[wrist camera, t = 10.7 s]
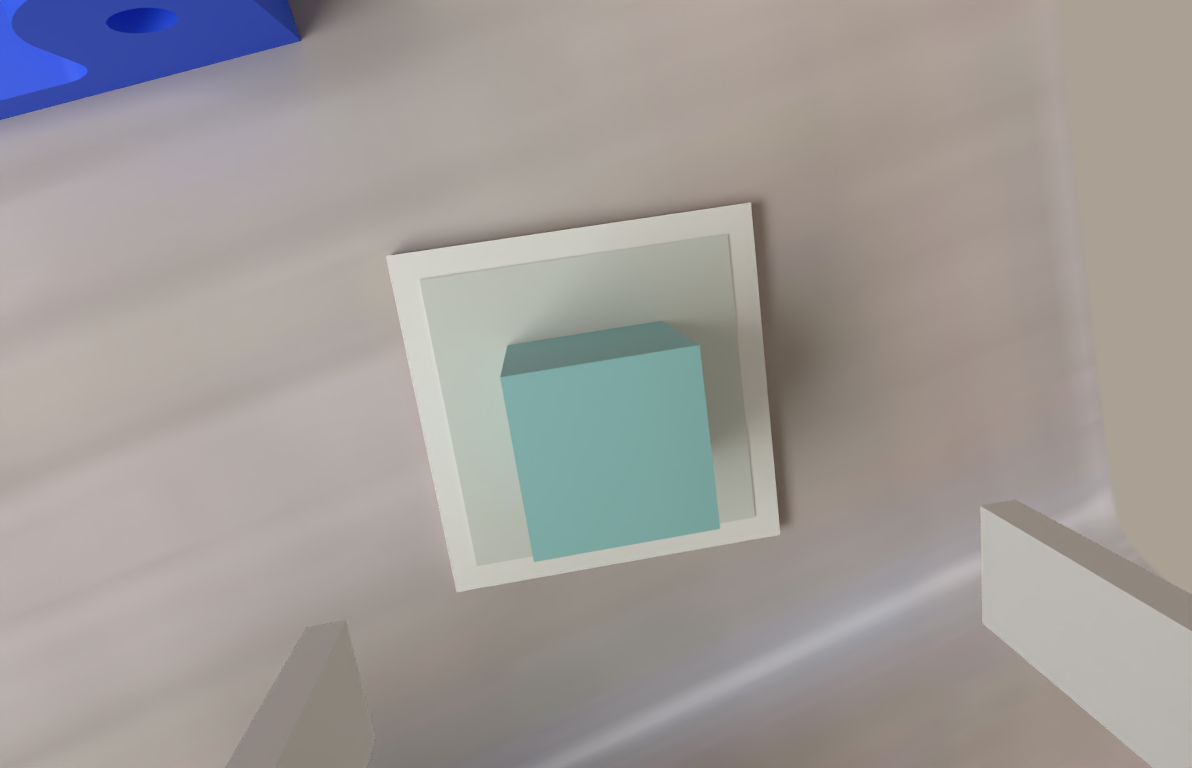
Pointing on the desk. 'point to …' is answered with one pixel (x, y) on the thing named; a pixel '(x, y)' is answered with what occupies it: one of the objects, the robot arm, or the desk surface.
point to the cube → (610, 438)
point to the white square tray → (567, 307)
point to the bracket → (123, 43)
